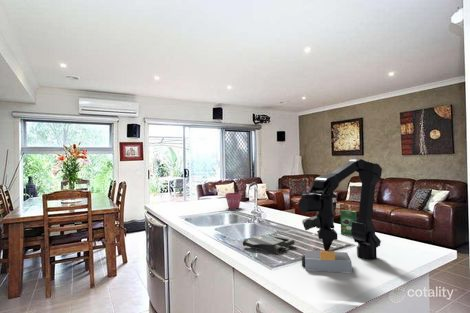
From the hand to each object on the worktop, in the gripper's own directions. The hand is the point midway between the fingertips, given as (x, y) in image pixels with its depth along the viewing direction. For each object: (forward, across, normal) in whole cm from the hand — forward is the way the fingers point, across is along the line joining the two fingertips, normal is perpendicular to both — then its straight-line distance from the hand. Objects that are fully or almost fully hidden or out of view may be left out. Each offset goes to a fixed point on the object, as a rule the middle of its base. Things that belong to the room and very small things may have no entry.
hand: (326, 251), depth 101 cm
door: (+6, +4, 0) cm, 7 cm away
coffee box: (+7, -49, +16) cm, 52 cm away
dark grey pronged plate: (+7, -20, -23) cm, 32 cm away
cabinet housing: (+7, -1, 0) cm, 7 cm away
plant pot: (+7, -120, -67) cm, 137 cm away
